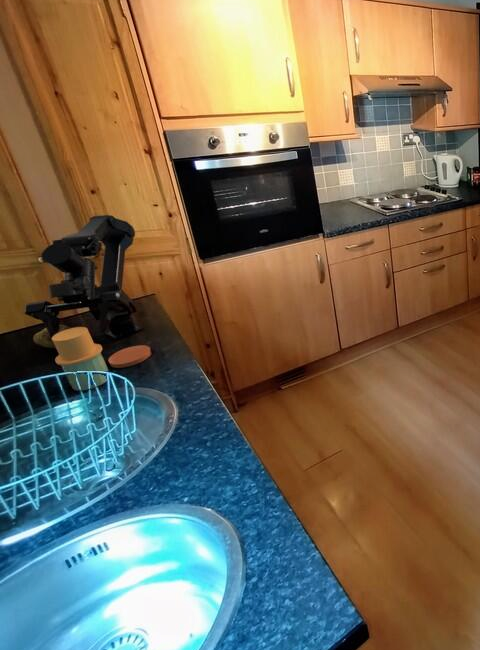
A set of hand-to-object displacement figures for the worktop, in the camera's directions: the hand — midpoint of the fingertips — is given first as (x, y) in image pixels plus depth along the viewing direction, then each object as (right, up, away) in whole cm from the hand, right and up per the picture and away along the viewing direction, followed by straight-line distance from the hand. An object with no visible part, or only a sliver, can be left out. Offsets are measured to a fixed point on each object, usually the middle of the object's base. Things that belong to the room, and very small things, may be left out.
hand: (78, 337), depth 112 cm
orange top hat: (+1, -6, 0) cm, 6 cm away
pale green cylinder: (+1, -12, +3) cm, 12 cm away
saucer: (+3, -7, +12) cm, 14 cm away
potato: (-21, -6, +16) cm, 27 cm away
